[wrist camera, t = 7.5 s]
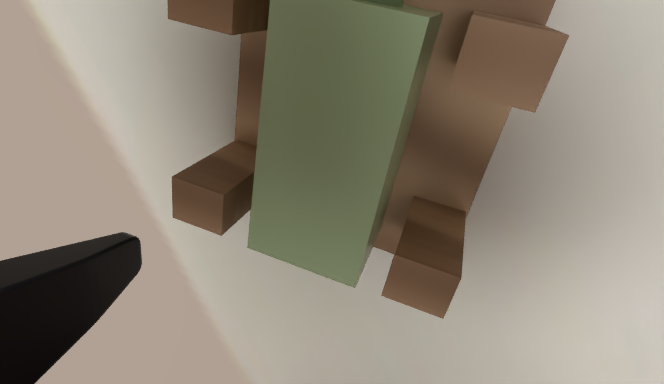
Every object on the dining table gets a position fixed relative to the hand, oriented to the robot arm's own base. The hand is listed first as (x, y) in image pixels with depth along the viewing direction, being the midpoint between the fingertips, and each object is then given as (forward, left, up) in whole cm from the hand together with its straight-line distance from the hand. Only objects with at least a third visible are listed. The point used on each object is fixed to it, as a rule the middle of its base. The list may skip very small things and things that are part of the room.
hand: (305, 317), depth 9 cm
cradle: (+1, +2, -12) cm, 12 cm away
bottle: (+4, +2, -11) cm, 11 cm away
